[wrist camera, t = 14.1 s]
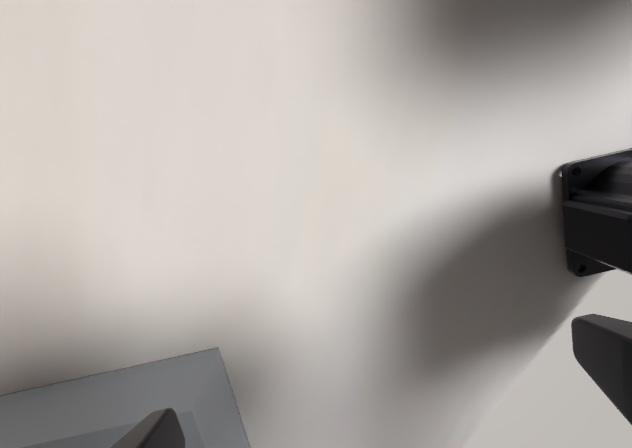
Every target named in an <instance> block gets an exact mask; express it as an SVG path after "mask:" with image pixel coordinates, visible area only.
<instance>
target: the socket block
mask: <svg viewBox="0 0 632 448" xmlns="http://www.w3.org/2000/svg"><path fill="white" fill-rule="evenodd" d="M168 407H171V408H173V409H174V410H175V412H176V415H177V417H178V420H179V423H180V425H181V428H182V431H183V433H184V436H185V448H250V445H249V442H248V438H247V435H246V432H245V429H244V426H243V423H242V420H241V417H240V414H239V411H238V408H237V405H236V401H235V398H234V395H233V392H232V389H231V386H230V383H229V380H228V377H227V374H226V371H225V367H224V364H223V361H222V358H221V355H220V352H219V349H218V348H214V349H210V350H205V351H201V352H196V353H192V354H187V355H183V356H178V357H174V358H169V359H165V360H160V361H156V362H151V363H147V364H142V365H138V366H133V367H129V368H124V369H120V370H115V371H111V372H106V373H101V374H97V375H92V376H88V377H83V378H79V379H74V380H70V381H65V382H61V383H56V384H52V385H47V386H43V387H38V388H34V389H29V390H25V391H20V392H16V393H11V394H7V395H2V396H0V448H110V447H111V446H112V445H113V444H114V443H115V442H117V441H118V440H119V439H120V438H121V437H123V436H124V435H125V434H126V433H127V432H129V431H130V430H131V429H132V428H133V427H134V426H136V425H137V424H138V423H139V422H140V421H142V420H143V419H144V418H145V417H146V416H147V415H149V414H150V413H151V412H152V411H155V410H159V409H163V408H168Z"/></svg>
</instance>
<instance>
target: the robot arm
mask: <svg viewBox="0 0 632 448" xmlns="http://www.w3.org/2000/svg"><path fill="white" fill-rule="evenodd" d="M574 168H575V169H576V172H575V174H574V175H572V170H573V169H574ZM562 185H563V200H564V205H563V214H564V229H565V244H566V247H567V261H568V270H569V272H570V273H572V274H574V275H576V276H579V277H583V276H587V275H592V274H596V273H601V272H605V271H610V270H614V269H619V270H621V271H624V272H626V273H629V274H631V275H632V148H630V149H626V150H621V151H617V152H613V153H608V154H604V155H600V156H595V157H591V158H586V159H582V160H578V161H573V162H570V163H567V164H566V165H565V166H564V167H563V169H562ZM579 265H581V267H580V269H578V266H579ZM577 269H578V270H577ZM571 327H572V341H573V352H574V355H575V358H576V359H577V361H578V363H579V364H580V365H581V366H582V367H583V369H584V370H585V371H586V372H587V373H588V375H589V376H590V377H591V378H592V379H593V380H594V382H595V383H596V384H597V385H598V386H599V387H600V389H601V390H602V391H603V392H604V393H605V394H606V396H607V397H608V398H609V399H610V400H611V402H612V403H613V404H614V405H615V406H616V407H617V409H618V410H619V411H620V412H621V413H622V414H623V416H624V417H625V418H626V419H627V420H628V421H629V422H630V424H631V425H632V322H628V321H624V320H619V319H614V318H610V317H606V316H601V315H596V314H589V315H585V316H580V317H576V318H574V319H573V320H572V325H571ZM110 448H185V436H184V433H183V431H182V428H181V425H180V423H179V420H178V417H177V415H176V412H175V410H174V409H173V408H171V407H168V408H163V409H159V410H155V411H152V412H151V413H150V414H149V415H147V416H146V417H145V418H144V419H143V420H142V421H140V422H139V423H138V424H137V425H136V426H134V427H133V428H132V429H131V430H130V431H129V432H127V433H126V434H125V435H124V436H123V437H121V438H120V439H119V440H118V441H117V442H115V443H114V444H113V445H112V446H111V447H110Z"/></svg>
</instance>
